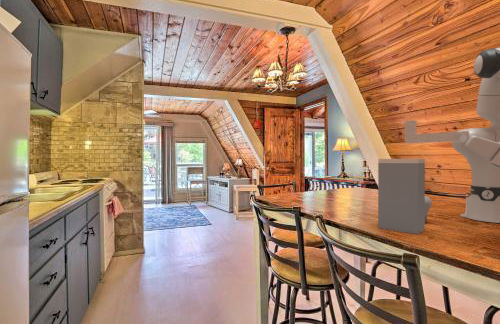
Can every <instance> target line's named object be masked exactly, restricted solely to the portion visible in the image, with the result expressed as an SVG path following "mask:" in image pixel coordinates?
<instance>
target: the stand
mask: <svg viewBox="0 0 500 324" xmlns="http://www.w3.org/2000/svg"><path fill="white" fill-rule="evenodd" d="M425 160H426V159H425V158H378V160H377V161H378V162H377V164H378V165H377V167H378V170H377V172H378V173H377V174H378V177H377V179H378V181H377V183H378V184H377V186H378V187H377V189H378V190H377V193H378V195H377V198H378V199H377V201H378V202H377V203H378V204H377V205H378V206H377V207H378V208H377V209H378V210H377V213H378V214H377V215H378V218H377V219H378V221H377V223H378V224H377V226H378V227H377V228H378V229H381V230H388V231H389V230H390V231H395V232H402V233H407V234H413V235H419V234H420V233H422V232H423V231H424V230H425V228H426V227H425V226H426V225H425V224H426V223H425V222H426V221H425V196H426V193H425V192H426V190H425V188H426V186H425V185H426V184H425V183H426V180H425V179H426V177H425V176H426V175H425V173H426V171H425V169H426V168H425V167H426V161H425Z"/></svg>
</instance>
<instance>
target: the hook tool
mask: <svg viewBox="0 0 500 324" xmlns="http://www.w3.org/2000/svg"><path fill="white" fill-rule="evenodd" d="M417 126H418V125H417V120H415V119H413V120H412V119H411V120H405V121H404V143H405V144H423V143H424V144H428V143H449V142H450V143H452V142H454V141H460V140H458V139H456V138H454V135H455V133H459V134H462V135H465V136H468V137H469V131H460V132H457V131H448V132H445V131H444V132H432V133H431V132H429V133H418V132H417Z"/></svg>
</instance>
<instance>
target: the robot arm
mask: <svg viewBox="0 0 500 324" xmlns="http://www.w3.org/2000/svg"><path fill="white" fill-rule="evenodd" d="M473 69H474V70H473V72H474V74H475V75H476V76H477V77H478V78H481V81H480V84H479V89H478V94H477V95H478V96H477V104H476V109H475V110H476V114H477V115H478V116H479V117H480V118H482V119H484V120H487V121H489V122H490V126H489V127H472V128H470V127H469V128H464V129H460V130H457V131H456V132H460V131H469V137H468V136H465V135H462V134H459V133H455V135H454V138H456V139H458V140H460V141H454V142H451V145H452V148H453V149H454V150H455V151H456V152H457V153H459V154H460V155H462V156H463V157H464V159H466V161H467V162H468V164H469V167H470V170H471V185H470V189H469V190H470V195H469V196H468V197H467V198H466V199H465V212H464V213H461V214H460V217H462V218H466V219H469V220H470V219H471V220H474V221H479V222H484V223H485V222H486V223H498V224H500V47H496V48H495V47H494V48H493V47H492V48H488V49H484V50H481V51H480V52H479V53H478V54H477V56H476V57H475V60H474V64H473Z"/></svg>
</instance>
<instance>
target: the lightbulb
mask: <svg viewBox="0 0 500 324" xmlns="http://www.w3.org/2000/svg"><path fill="white" fill-rule="evenodd" d="M432 205H433V201H432V199H431V198H430V197H429V196H427V195H425V222H427V221H428V220H427V219H428V215H429V211H430V209H431V208H432Z"/></svg>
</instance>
